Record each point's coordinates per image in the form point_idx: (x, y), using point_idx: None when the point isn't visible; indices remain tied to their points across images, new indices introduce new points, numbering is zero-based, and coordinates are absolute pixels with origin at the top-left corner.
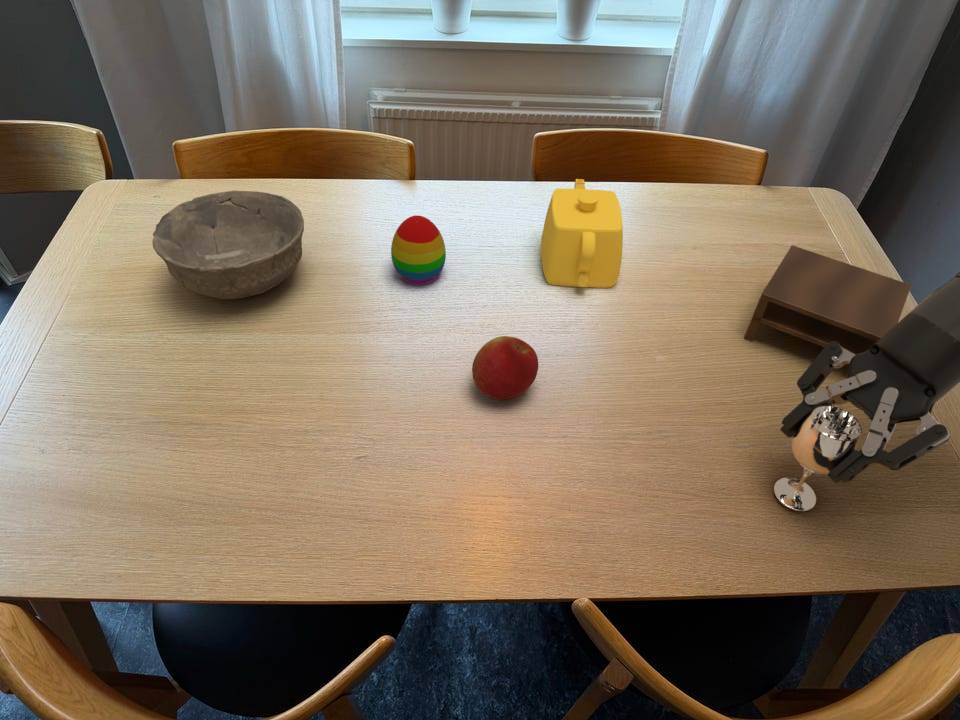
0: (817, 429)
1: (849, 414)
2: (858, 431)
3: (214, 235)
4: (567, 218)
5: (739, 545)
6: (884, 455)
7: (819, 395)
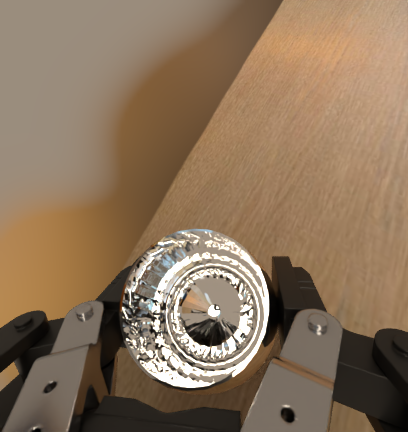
0: (200, 229)
1: (197, 387)
2: (148, 367)
3: None
4: None
5: (205, 210)
6: (39, 322)
7: (313, 345)
